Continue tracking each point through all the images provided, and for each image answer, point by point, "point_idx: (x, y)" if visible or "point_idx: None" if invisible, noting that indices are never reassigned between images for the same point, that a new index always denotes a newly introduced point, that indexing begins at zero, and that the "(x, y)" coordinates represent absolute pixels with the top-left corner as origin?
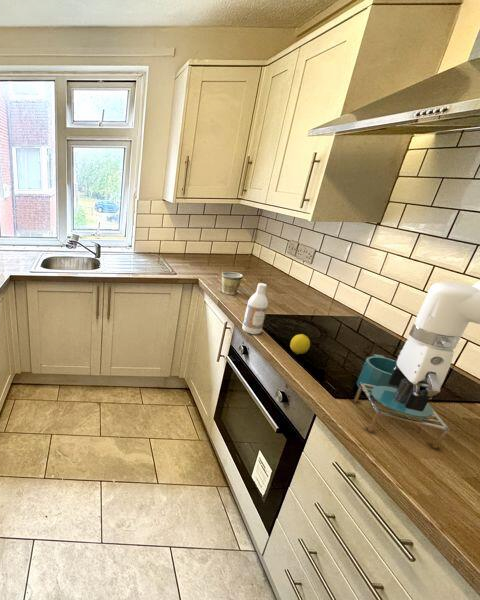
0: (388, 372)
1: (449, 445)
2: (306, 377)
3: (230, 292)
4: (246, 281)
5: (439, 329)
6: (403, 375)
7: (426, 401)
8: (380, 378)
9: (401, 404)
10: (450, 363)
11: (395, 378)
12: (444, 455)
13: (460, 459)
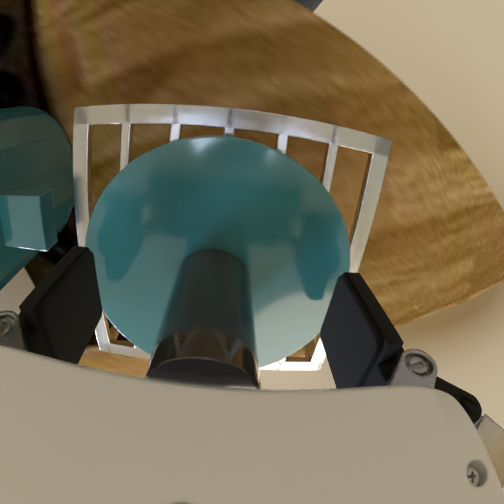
0: None
1: (306, 71)
2: (78, 364)
3: None
4: None
5: None
6: (57, 336)
7: (384, 323)
8: (18, 261)
9: (262, 299)
10: None
11: (80, 335)
12: (367, 129)
13: (373, 88)
